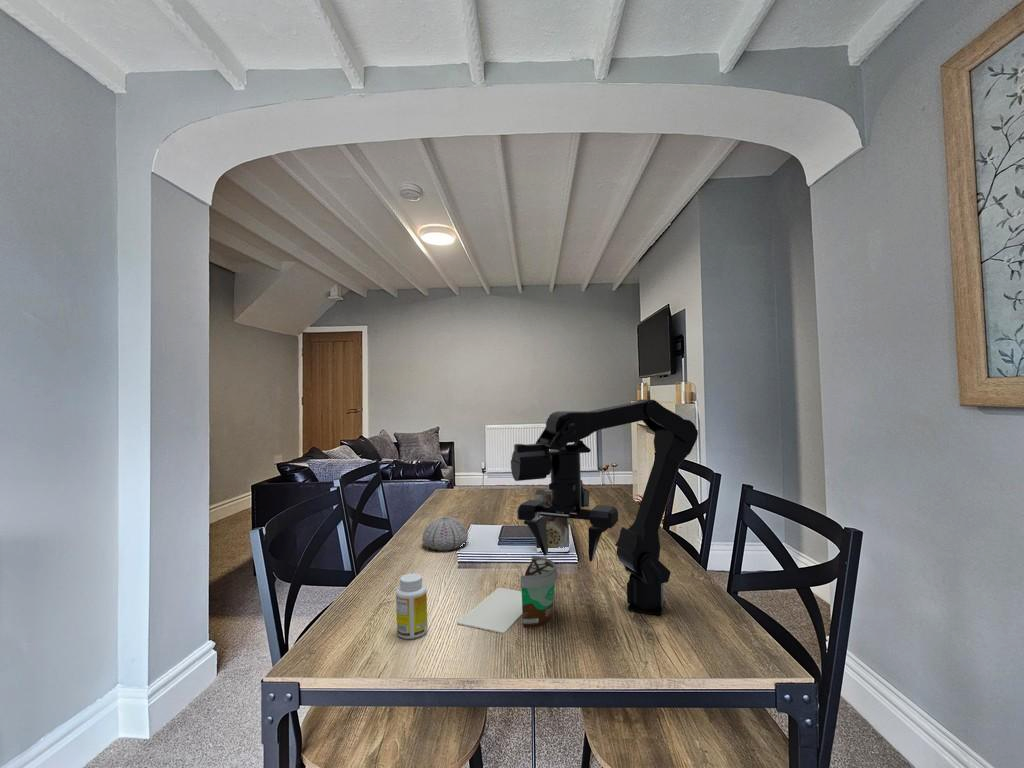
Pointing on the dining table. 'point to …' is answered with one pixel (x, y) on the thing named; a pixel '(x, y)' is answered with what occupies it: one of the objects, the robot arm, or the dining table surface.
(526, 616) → the food container
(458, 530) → the sea urchin shell
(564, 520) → the coffee box
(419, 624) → the supplement bottle
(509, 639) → the dining table surface
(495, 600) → the mat
